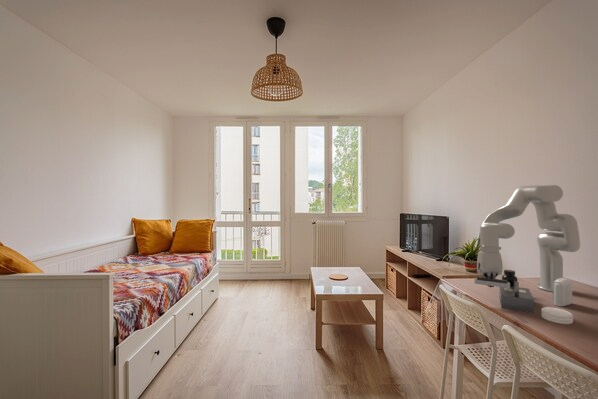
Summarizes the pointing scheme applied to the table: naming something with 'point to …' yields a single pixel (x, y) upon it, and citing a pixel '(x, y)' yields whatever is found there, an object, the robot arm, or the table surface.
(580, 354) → the table surface
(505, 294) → the grey lever box
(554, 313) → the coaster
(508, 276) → the supplement bottle
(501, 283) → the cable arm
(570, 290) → the photo printer
